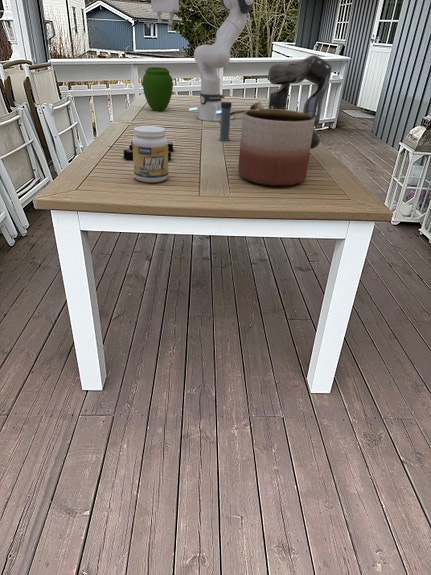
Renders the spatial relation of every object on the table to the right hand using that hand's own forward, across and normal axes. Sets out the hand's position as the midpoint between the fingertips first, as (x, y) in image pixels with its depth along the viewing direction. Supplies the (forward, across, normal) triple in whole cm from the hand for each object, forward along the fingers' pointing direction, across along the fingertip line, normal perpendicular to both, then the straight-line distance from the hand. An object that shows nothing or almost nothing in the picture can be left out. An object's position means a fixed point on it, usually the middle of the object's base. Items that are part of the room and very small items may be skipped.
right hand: (253, 122), depth 184 cm
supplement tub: (-16, +62, +12) cm, 65 cm away
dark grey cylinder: (+21, 0, +11) cm, 23 cm away
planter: (-37, +22, +12) cm, 45 cm away
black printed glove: (+17, +43, +12) cm, 48 cm away
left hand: (+68, +4, -37) cm, 78 cm away
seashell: (+68, -64, +10) cm, 94 cm away
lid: (+20, 0, -6) cm, 21 cm away
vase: (+108, -13, +10) cm, 109 cm away
